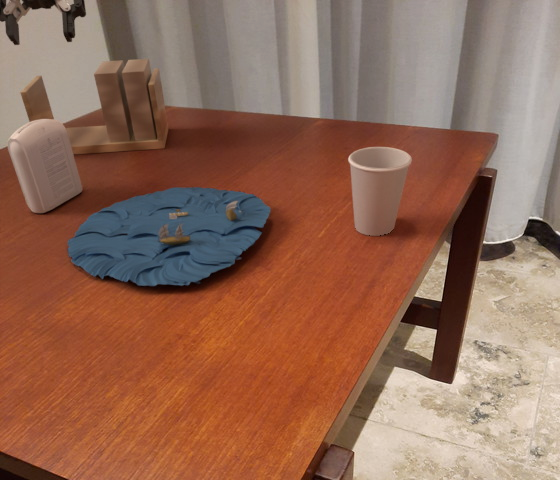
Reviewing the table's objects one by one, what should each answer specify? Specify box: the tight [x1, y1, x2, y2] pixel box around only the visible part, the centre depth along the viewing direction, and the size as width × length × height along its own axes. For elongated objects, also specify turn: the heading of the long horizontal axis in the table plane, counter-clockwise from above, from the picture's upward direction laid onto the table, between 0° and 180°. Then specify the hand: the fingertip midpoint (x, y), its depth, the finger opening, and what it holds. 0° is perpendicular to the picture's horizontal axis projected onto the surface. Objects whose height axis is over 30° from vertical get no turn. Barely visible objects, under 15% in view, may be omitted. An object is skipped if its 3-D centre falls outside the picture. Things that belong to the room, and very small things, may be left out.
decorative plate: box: [67, 186, 272, 287], centre depth 78 cm, size 30×30×5 cm
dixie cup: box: [347, 146, 413, 237], centre depth 77 cm, size 8×8×10 cm
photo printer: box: [6, 119, 83, 214], centre depth 87 cm, size 10×4×12 cm, turn 157°
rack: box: [19, 58, 169, 155], centre depth 108 cm, size 24×12×14 cm, turn 95°
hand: (41, 40), depth 90 cm, fingers open, 8 cm apart
